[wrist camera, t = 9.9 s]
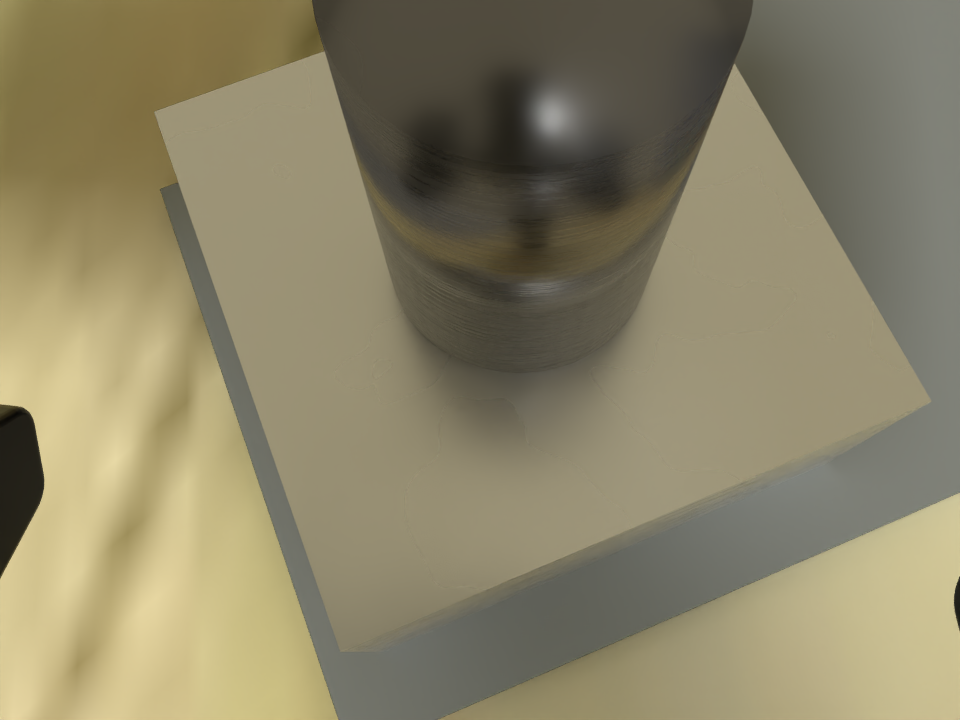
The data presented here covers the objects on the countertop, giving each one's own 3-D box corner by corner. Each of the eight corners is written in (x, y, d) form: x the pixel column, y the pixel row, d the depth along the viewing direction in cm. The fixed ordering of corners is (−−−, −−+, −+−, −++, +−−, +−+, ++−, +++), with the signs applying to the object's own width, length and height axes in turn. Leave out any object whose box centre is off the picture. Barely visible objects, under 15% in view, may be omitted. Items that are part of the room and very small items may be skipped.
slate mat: (1083, -137, 22) (1093, -151, 22) (1419, 291, 19) (1438, 284, 18) (166, 198, 20) (159, 189, 20) (355, 754, 16) (351, 756, 16)
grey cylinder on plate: (825, 463, 17) (1263, 207, 7) (381, 652, 17) (201, 648, 7) (624, 86, 20) (747, -477, 10) (231, 232, 19) (-63, -226, 9)
